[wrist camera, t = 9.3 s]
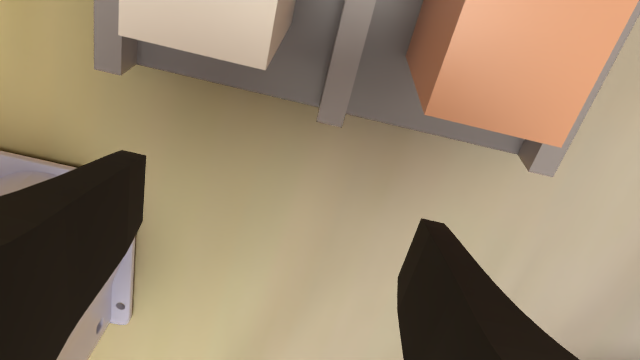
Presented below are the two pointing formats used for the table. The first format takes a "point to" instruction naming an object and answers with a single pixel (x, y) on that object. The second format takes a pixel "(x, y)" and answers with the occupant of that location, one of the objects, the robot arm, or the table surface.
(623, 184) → the table surface
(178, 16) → the white plug
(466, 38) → the terracotta plug
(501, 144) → the slot rack
